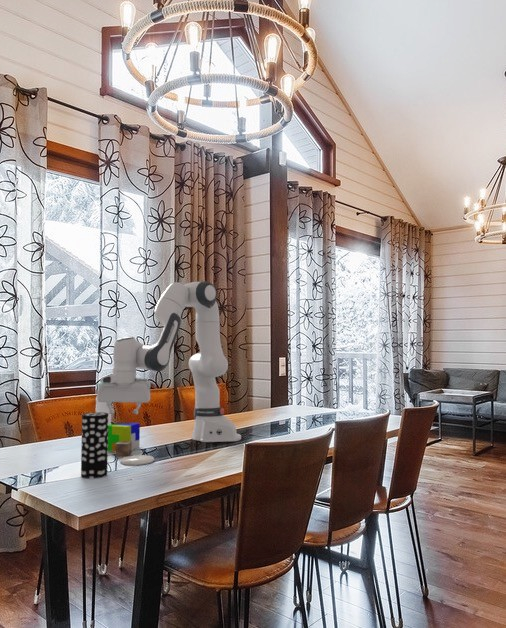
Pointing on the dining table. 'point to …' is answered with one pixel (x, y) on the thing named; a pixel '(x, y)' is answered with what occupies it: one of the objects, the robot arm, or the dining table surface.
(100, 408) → the water bottle
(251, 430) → the dining table surface
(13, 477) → the dining table surface
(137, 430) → the puzzle toy
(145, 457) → the saucer
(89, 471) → the spotted tube
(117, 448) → the walnut block
